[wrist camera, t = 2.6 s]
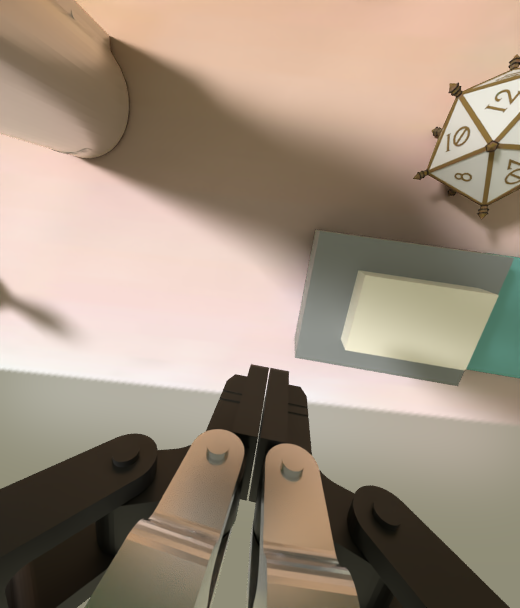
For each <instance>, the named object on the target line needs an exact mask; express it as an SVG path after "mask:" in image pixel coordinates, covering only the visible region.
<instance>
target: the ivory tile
mask: <svg viewBox="0 0 520 608" xmlns="http://www.w3.org/2000/svg"><path fill="white" fill-rule="evenodd" d="M498 296H499V295H497V294H494V293H491V292H489V291H486V290H483V289H480V288H475V287H469V286H462V285H455V284H448V283H442V282H435V281H428V280H421V279H415V278H408V277H401V276H394V275H388V274H381V273H374V272H367V271H361V270H358V273H357V277H356V281H355V285H354V289H353V293H352V297H351V301H350V305H349V309H348V313H347V317H346V321H345V325H344V329H343V332H342V336H341V341H342V343H343V346H344V348H345V350H347V351H353V352H359V353H365V354H371V355H377V356H382V357H388V358H394V359H400V360H406V361H412V362H418V363H424V364H429V365H435V366H441V367H447V368H453V369H459V370H466V368H467V366H468V364H469V361H470V359H471V357H472V355H473V352H474V350H475V348H476V346H477V343H478V341H479V339H480V337H481V334H482V332H483V330H484V328H485V325H486V323H487V321H488V319H489V316H490V314H491V312H492V310H493V307H494V305H495V303H496V301H497V298H498Z"/></svg>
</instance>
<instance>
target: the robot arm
mask: <svg viewBox="0 0 520 608" xmlns="http://www.w3.org/2000/svg"><path fill="white" fill-rule="evenodd" d="M128 114H129V96H128V91H127V86H126V82H125V79H124V76H123V74H122V71H121V69H120V67H119V65H118V63H117V62H116V60H115V58H114V57H113V55H112V53H111V49H110V38H109V35H108V34H107V33H106V32H105V31H104V30H103V29H102V28H101V27H100V26H99V25H98V24H97V23H96V22H95V21H94V19H93V18H92V17H91V16H90V15H89V14H88V13H87V12H86V11H85V10H84V9H83V8H82V7H81V6H80V5H79V4H78V3H77V2H76V1H75V0H0V134H3V135H6V136H9V137H13V138H16V139H19V140H23V141H26V142H29V143H33V144H36V145H39V146H43V147H46V148H49V149H52V150H54V151H58V152H61V153H65V154H70V155H73V156H77V157H81V158H95V157H99V156H102V155H104V154H106V153H107V152H109V151H111V150H112V149H113V148H114V147H115V146H116V145H117V143H118V142H119V140H120V139H121V137H122V135H123V134H124V131H125V128H126V125H127V121H128ZM268 371H269V368H268V367H263V366H258V365H252V364H251V366H250V369H249V373H248V376H247V377H246V376H241V375H236V374H235V375H234V376H233V377H231V378H230V379H229V380H228V381H227V382H226V384H225V387H224V389H223V392H222V394H221V396H220V400H219V401H218V404H217V406H216V408H215V411H214V413H213V415H212V418H211V420H210V423H209V425H208V427H207V430H206V432H204V433H202V434H200V435H199V436H198V437H197V438H196V439H195V440H194V442H193V443H192V445H190V446H187V447H184V448H179V449H169V450H157V446H156V444H155V442H154V441H153V440H152V439H151V438H150V437H148V436H146V435H142V434H127V435H124V436H120V437H117V438H115V439H113V440H110V441H108V442H106V443H103V444H101V445H99V446H97V447H94V448H92V449H90V450H88V451H85V452H83V453H81V454H79V455H77V456H74V457H72V458H70V459H67V460H65V461H63V462H61V463H58V464H56V465H54V466H51V467H49V468H47V469H45V470H43V471H40V472H38V473H36V474H33V475H31V476H29V477H27V478H24V479H23V480H20V481H18V482H16V483H13V484H11V485H9V486H6V487H4V488H2V489H0V608H77V607H78V606H79V605H81V604H82V603H83V602H85V601H86V600H87V599H88V598H89V597H90V599H89V601H88V602H87V604H86V605H85V607H84V608H211V606H212V602H213V598H214V595H215V591H216V587H217V583H218V579H219V576H220V572H221V569H222V565H223V561H224V557H225V554H226V550H227V546H228V542H229V539H230V535H231V531H232V526H233V524H234V522H235V520H236V516H237V511H238V506H239V500H240V499H242V500H247V494H248V489H249V483H250V478H251V472H252V466H253V461H254V455H255V450H256V444H257V439H258V433H259V427H260V433H259V439H258V445H257V451H256V457H255V464H254V470H253V477H252V483H251V490H250V496H249V501H251V502H256V506H255V513H254V521H253V525H252V531H251V538H250V553H249V569H248V583H247V598H246V608H510V607H509V606H507V604H506V603H505V602H503V601H502V600H501V599H500V598H499V597H498V596H497V595H496V594H495V593H494V592H493V591H492V590H491V589H490V588H489V587H488V586H487V585H486V584H485V583H484V582H483V581H482V580H481V579H480V578H479V577H478V576H477V575H476V574H475V573H474V572H473V571H472V570H471V569H470V568H469V567H468V566H467V565H466V564H465V563H464V562H463V561H462V560H461V559H460V558H459V557H458V556H457V555H456V554H455V553H454V552H453V551H451V549H450V548H449V547H448V546H447V545H445V543H444V542H442V540H441V539H439V537H437V536H436V535H435V534H434V533H433V532H432V531H431V530H430V529H429V528H428V527H427V526H426V525H425V524H424V523H423V522H422V521H421V520H420V519H419V518H418V517H417V516H416V515H415V514H414V513H413V512H412V511H411V510H410V509H409V508H408V507H407V506H406V505H405V504H404V503H403V502H402V501H401V500H400V499H399V498H397V497H396V496H395V495H393V494H392V493H390V492H389V491H387V490H385V489H383V488H380V487H376V486H363V487H361V488H359V489H358V490H357V491H356V492H355V494H354V493H352V492H350V491H348V490H347V489H344V488H343V487H341V486H339V485H337V484H336V483H334V482H332V481H331V480H329V479H328V478H327V477H326V476H325V475H323V474H322V472H321V471H320V470H319V468H318V465H317V463H316V461H315V459H314V458H313V457H312V452H311V441H310V430H309V419H308V409H307V397H306V395H305V393H304V392H303V390H302V389H301V387H298V386H293V385H289V371H284V370H279V369H274V368H270V373H269V379H268V385H267V390H266V396H265V389H266V383H267V377H268ZM264 396H265V401H264ZM263 402H264V408H263ZM262 408H263V413H262ZM261 414H262V420H261ZM260 421H261V425H260Z"/></svg>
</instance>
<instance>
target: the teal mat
mask: <svg viewBox="0 0 520 608" xmlns="http://www.w3.org/2000/svg"><path fill="white" fill-rule="evenodd" d="M487 254H489V253H487ZM493 255H497V254H493ZM499 256H504V255H499ZM506 257H511V256H506ZM512 258H514V260H513V262H512V265H511V267H510V269H509V271H508V274H507V276H506V278H505V280H504V283H503V285H502V287H501V289H500V292H499V294H498V295H499V296H498V298H497V301H496V303H495V305H494V307H493V310H492V312H491V314H490V316H489V319H488V321H487V323H486V325H485V328H484V330H483V332H482V334H481V337H480V339H479V341H478V343H477V346H476V348H475V350H474V352H473V355H472V357H471V359H470V361H469V364H468V366H467V368H466V369H468V370H473V371H479V372H485V373H491V374H497V375H503V376H509V377H515V378H520V258H518V257H512Z"/></svg>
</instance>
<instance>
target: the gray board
mask: <svg viewBox="0 0 520 608" xmlns="http://www.w3.org/2000/svg"><path fill="white" fill-rule="evenodd" d="M513 260H514V258H512V257H506V256H499V255H493V254H487V253H481V252H475V251H468V250H461V249H453V248H446V247H439V246H432V245H424V244H417V243H410V242H403V241H396V240H388V239H381V238H374V237H367V236H359V235H352V234H345V233H338V232H331V231H323V230H316V229H315V234H314V239H313V245H312V250H311V255H310V260H309V266H308V271H307V276H306V281H305V287H304V292H303V297H302V302H301V308H300V313H299V318H298V323H297V328H296V334H295V358H300V359H306V360H312V361H317V362H323V363H329V364H335V365H340V366H346V367H352V368H357V369H363V370H369V371H375V372H380V373H386V374H392V375H397V376H403V377H409V378H415V379H420V380H426V381H432V382H437V383H443V384H449V385H455V386H458V384H459V382H460V380H461V378H462V375H463V373H464V371H465V370H459V369H453V368H447V367H441V366H435V365H429V364H424V363H418V362H412V361H406V360H400V359H394V358H388V357H382V356H377V355H371V354H365V353H359V352H353V351H347V350H345V348H344V346H343V343H342V341H341V336H342V332H343V329H344V325H345V321H346V317H347V313H348V309H349V305H350V301H351V297H352V293H353V289H354V285H355V281H356V277H357V273H358V270H361V271H367V272H374V273H381V274H388V275H394V276H401V277H408V278H415V279H421V280H428V281H435V282H442V283H448V284H455V285H462V286H469V287H475V288H480V289H483V290H486V291H489V292H491V293H494V294H497V295H498V294H499V292H500V289H501V287H502V285H503V283H504V280H505V278H506V276H507V274H508V271H509V269H510V267H511V265H512V262H513Z"/></svg>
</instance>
